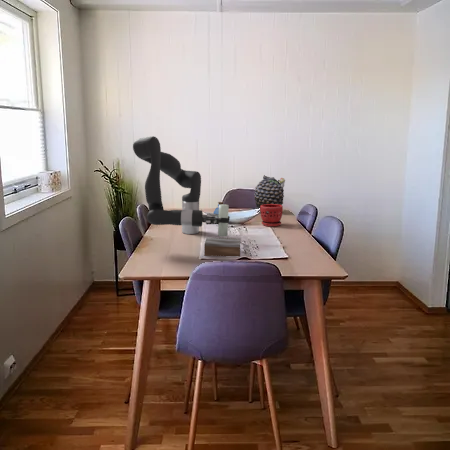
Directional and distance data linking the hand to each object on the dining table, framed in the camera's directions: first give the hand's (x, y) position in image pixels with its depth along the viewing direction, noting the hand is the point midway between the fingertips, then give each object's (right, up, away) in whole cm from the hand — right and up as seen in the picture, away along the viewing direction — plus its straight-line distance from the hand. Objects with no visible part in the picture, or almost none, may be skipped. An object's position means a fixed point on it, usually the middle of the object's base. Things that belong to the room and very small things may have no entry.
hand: (229, 219), depth 214 cm
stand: (-3, -15, +4) cm, 16 cm away
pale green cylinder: (-3, -7, +2) cm, 8 cm away
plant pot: (+25, -3, +65) cm, 70 cm away
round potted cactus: (+27, +6, +105) cm, 108 cm away
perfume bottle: (-5, -1, +71) cm, 71 cm away
